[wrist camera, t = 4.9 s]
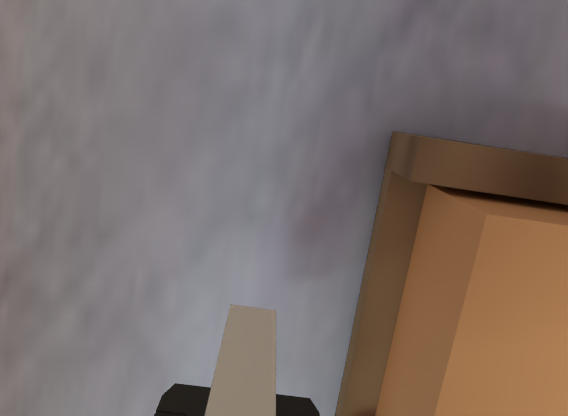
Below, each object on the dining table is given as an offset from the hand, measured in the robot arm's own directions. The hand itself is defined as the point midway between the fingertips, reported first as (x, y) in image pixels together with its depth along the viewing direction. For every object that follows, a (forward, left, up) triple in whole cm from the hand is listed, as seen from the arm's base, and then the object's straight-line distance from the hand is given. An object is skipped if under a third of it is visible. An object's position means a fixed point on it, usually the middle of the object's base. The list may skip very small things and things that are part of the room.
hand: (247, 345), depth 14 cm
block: (+10, 0, -4) cm, 10 cm away
